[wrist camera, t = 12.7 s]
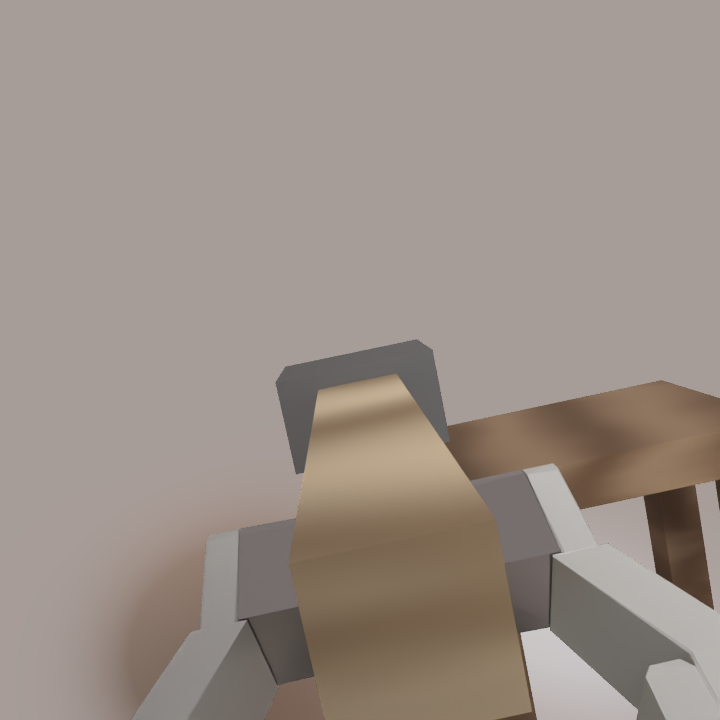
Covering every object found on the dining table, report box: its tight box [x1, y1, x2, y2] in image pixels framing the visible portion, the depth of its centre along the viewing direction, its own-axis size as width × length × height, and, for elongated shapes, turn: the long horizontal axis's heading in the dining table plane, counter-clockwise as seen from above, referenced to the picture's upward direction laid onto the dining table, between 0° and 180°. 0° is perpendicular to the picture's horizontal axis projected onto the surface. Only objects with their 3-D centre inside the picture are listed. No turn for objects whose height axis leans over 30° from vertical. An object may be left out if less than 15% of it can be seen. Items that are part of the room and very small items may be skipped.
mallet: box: [276, 340, 532, 720], centre depth 16 cm, size 17×5×3 cm, turn 2°
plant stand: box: [444, 381, 720, 720], centre depth 33 cm, size 14×10×26 cm
